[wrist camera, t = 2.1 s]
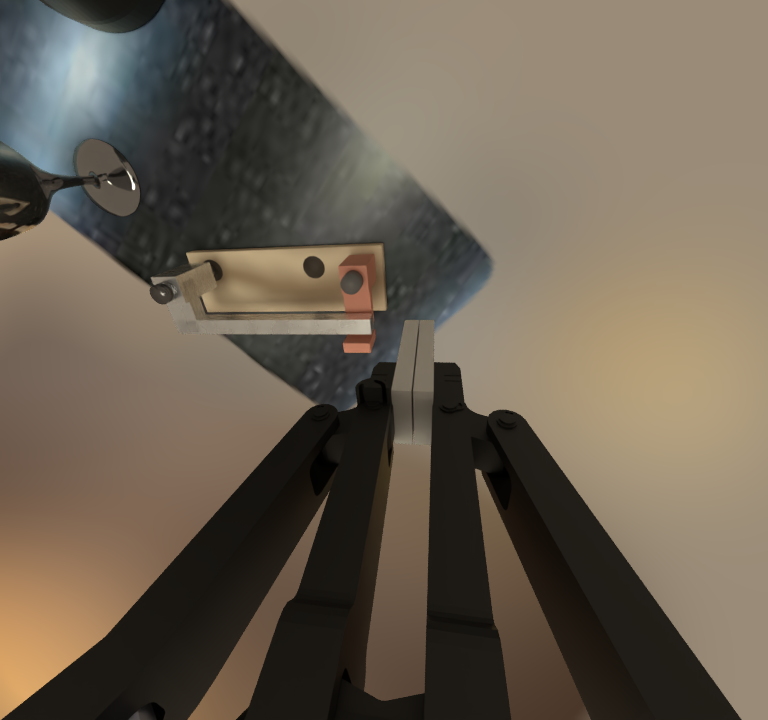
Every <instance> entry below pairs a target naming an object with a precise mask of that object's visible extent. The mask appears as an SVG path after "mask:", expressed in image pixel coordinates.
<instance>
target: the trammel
mask: <svg viewBox="0 0 768 720" xmlns="http://www.w3.org/2000/svg"><path fill="white" fill-rule="evenodd" d="M214 274H216V269H215V268H214V267H211V266H210V263H209V262H208V263H187V264H184V265H181V266H179V267H176V268H174V269H171V270H168V271H166V272H163V273H161V274H158V275H155V276H153V277H151V279H152V282H153V284H154V286H152V287H151V288H150V294H151V296H152V298H153V299H154V300H155V301H156V302H157V303H159V304H167V307H168V309H169V311H170V314H171V316H172V318H173V320H174V323H175V325H176V327H177V330H178V332H180V333H182V334H372V331H373V329H374V323H373V313H355V314H219V315H206V314H205V312H204V309H203V306H202V304H201V301H200V298H199V296H201V295H203V294H205V293H207V292H208V291H210V290H212V289H214V288H216V287H217V283H216V280H215V277H214Z"/></svg>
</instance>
